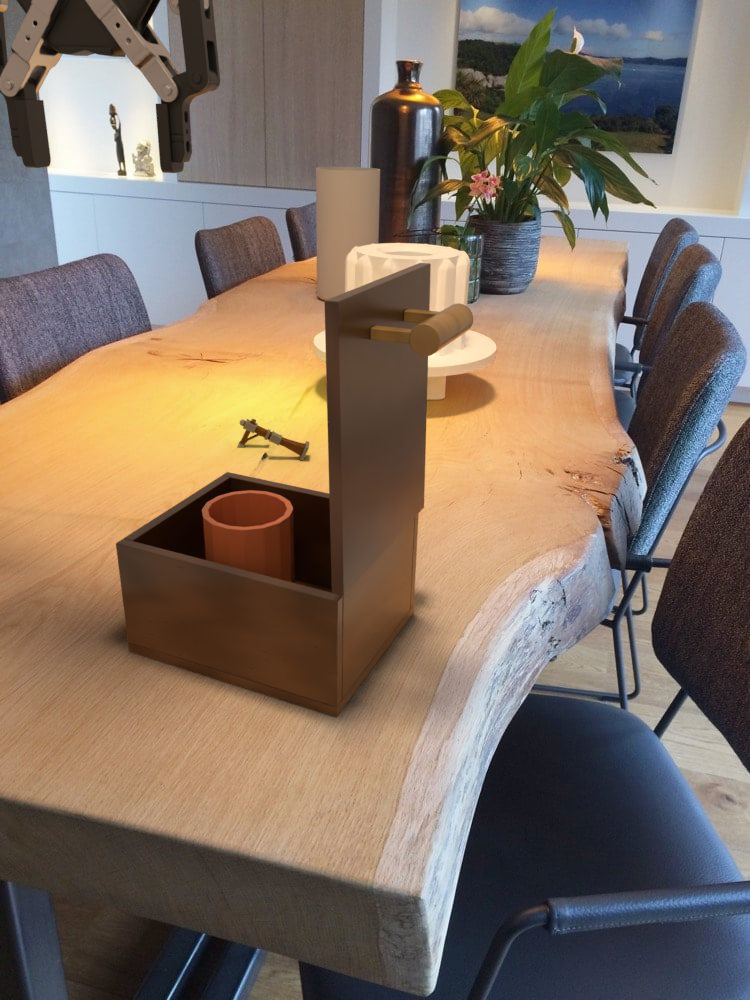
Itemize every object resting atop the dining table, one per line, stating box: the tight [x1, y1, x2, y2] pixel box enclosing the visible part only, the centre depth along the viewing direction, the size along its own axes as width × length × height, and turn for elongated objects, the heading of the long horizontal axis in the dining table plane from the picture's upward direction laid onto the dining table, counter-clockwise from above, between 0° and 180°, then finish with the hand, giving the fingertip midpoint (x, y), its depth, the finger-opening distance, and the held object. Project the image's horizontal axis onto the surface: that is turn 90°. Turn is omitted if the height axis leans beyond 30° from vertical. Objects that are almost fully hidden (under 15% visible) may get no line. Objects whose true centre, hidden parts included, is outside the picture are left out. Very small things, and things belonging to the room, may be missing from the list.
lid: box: [324, 263, 474, 596], centre depth 51 cm, size 17×14×5 cm
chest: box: [115, 471, 420, 718], centre depth 60 cm, size 17×14×9 cm
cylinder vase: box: [315, 166, 381, 302], centre depth 167 cm, size 12×12×25 cm
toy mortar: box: [236, 418, 310, 462], centre depth 92 cm, size 2×8×4 cm, turn 93°
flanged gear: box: [312, 242, 497, 401], centre depth 112 cm, size 25×25×19 cm
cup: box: [202, 490, 295, 583], centre depth 60 cm, size 6×6×9 cm
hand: (104, 169), depth 50 cm, fingers open, 8 cm apart
